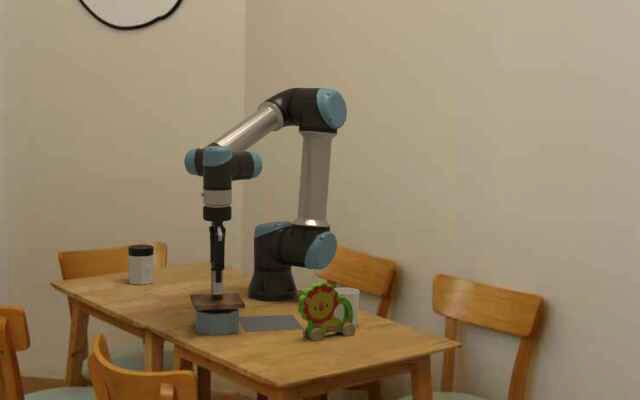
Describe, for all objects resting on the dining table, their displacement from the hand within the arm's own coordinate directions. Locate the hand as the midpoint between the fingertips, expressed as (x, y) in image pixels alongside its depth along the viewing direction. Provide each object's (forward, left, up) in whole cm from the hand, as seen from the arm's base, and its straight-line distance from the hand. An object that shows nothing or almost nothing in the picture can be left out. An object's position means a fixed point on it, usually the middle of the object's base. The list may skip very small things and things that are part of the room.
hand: (217, 292), depth 254 cm
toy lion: (-27, +12, -11) cm, 31 cm away
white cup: (-35, +1, -11) cm, 37 cm away
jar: (+17, -64, -11) cm, 67 cm away
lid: (0, 0, -3) cm, 3 cm away
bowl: (0, 0, -11) cm, 11 cm away
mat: (-15, -4, -11) cm, 19 cm away
